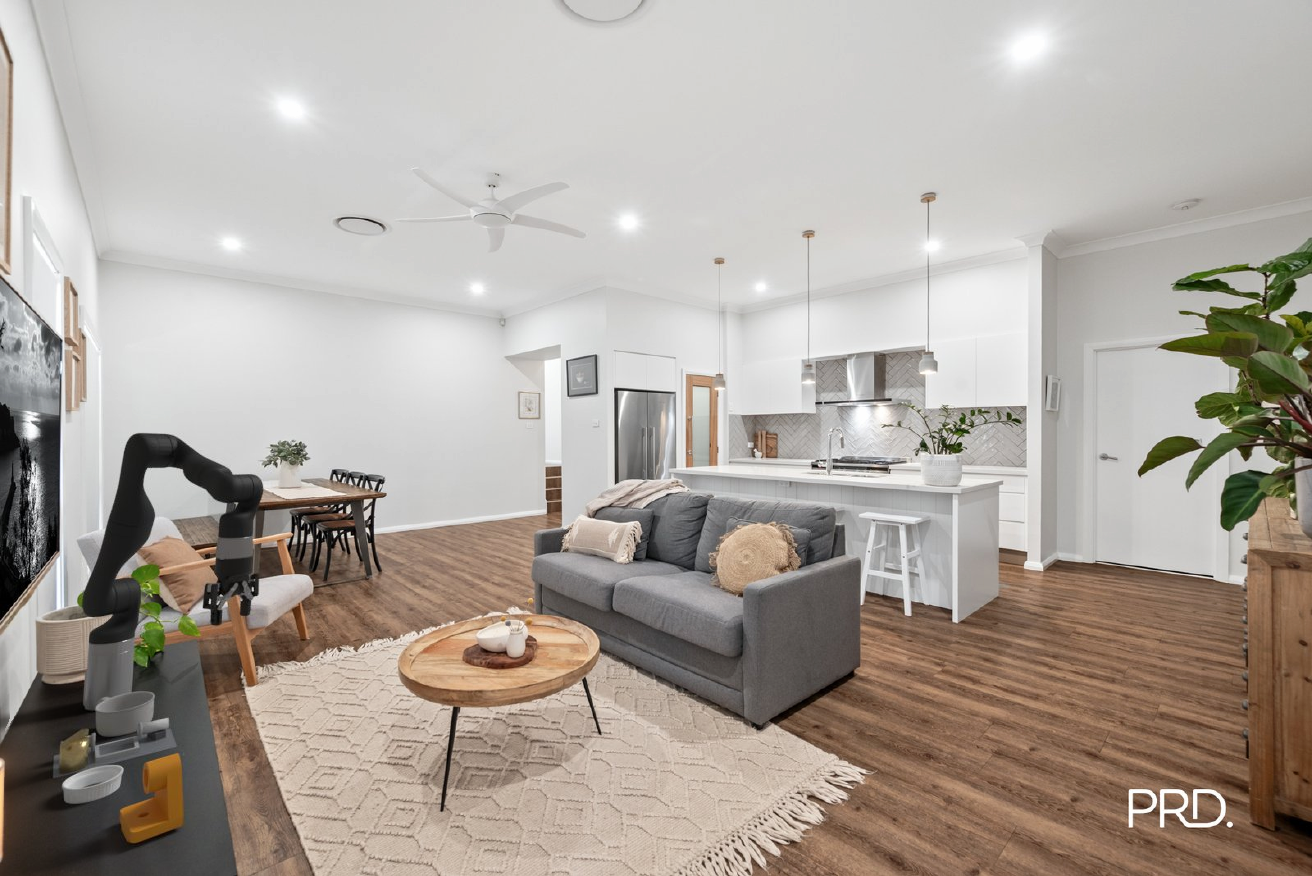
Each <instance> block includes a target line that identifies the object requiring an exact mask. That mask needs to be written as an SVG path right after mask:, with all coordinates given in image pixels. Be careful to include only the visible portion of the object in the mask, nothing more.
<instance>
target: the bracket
mask: <svg viewBox="0 0 1312 876" xmlns="http://www.w3.org/2000/svg"><path fill="white" fill-rule="evenodd" d="M182 769H183V768H182V761H181V755H180V754H179V753H178V752H177V753H173V754H171V755H166V756H163V757H159V758H157V759H153V760H150V761H147V762H144V764H143V767H142V786H143V791H144V793H145V794H146V795H147V794H150V793H154V797H152V798H149V799H146V800H142V801H139V802H136V803H134V804H131V805H127V806H125V807H123V808H121V809H120V810H119V823H120V825H121V827H120V830H121V832H122V833H123V836H124V838H125V839H126V842H127V843H130V844H136V843H139V842H140V843H141V842H142V841H145V840H149V839H151V838H153V837H156V836H158V835H161V834H163V833H166V832H167V833H168V832H169V831H172V830H175V829H177V828H180V827H182V826H184V816H185V814H184V792H183V790H184V789H183V771H182Z"/></svg>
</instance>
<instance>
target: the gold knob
mask: <svg viewBox="0 0 1312 876" xmlns="http://www.w3.org/2000/svg"><path fill="white" fill-rule="evenodd" d="M89 732H90V731H89V728H81V729H80V730H78V731H77V732H75V733H74V734H73V735H71V736H69V737H68V738H66V739H65V740H64V742H62V741H61V742H62V743H61V742H60V744H59V754H60V757H59V773H61V774H67V773H72V772H76V771H79V770H81V769H84V768H85V767H86V766H87V765H88V749H89V737H85V736H89ZM76 773H77V772H76ZM72 774H73V773H72Z"/></svg>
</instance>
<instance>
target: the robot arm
mask: <svg viewBox="0 0 1312 876" xmlns="http://www.w3.org/2000/svg"><path fill="white" fill-rule="evenodd" d="M166 468H175V469H179V470H182V473H183V476H184V477H185V479H187V480H188V481H189V482H190V483H191V484H194V485H195V486H197V487H199V488H201V489H204V490H205V491H206V492H207V493H208V494H209V496H211V497H212V498H213V500H214V501H216V502H220V503H223V504H234V503H235V504H236V503H237V504H236V506H235V508H234V509H233V510H231V511H228V512H225V513H222V514H221V516H220V517H219V522H218V537H217V543H216V548H215V549H216V550H215V565H214V566H215V567H214V575H215V576H217V580H216V582H213V583H212V582H210V583H209V582H207V583H205V585H204V592H203V598H202V599H203V600H202V609H203V610H210V619H209V620H210V621H209V622H210V625H211V626H217V627H218V626H221V625H222V622H223V621H222V620H223V607H224V606H225V603H226V602H228V601H229V600H230V599H231V598H233V597H235V596H238V597H239V598H240V603H239V605H240V606H239V615H240V616H241V617H248V616H250V615H251V610H252V601H253V600H254V598H255V597H258V596H259V594H260V593H259V592H260V574H259V573H258V572H257V573H256V572H252V571H253V559H254V558H253V557H254V556H253V555H254V539H253V537H254V536H253V535H254V520H255V517H256V515H257V512H258V509H259V506H260V503H261V501H262V498H263V494H264V483H263V481H262V479H261V478H260V477H259V476H258V475H256V474H252V473H245V474H244V473H243V474H242V473H241V474H240V473H239V474H234V473H233V471H232V470H231V469H230V468H229V467H227V466H225V465H223V464H221V463H219V462H217V461H215V460H212V459H210V458H208V457H205V456H204V455H202V454H201V453H200V452H198V451H197V450H195V449H194V448H192V447H191V446H190V445H189V444H188V443H186V442H185V441H184V440H182V439H181V438H179V437H178V436H176V435H174V434H169V433H157V432H155V433H154V432H137V433H133V434H132V435H131V436H129V438H128V439H127V441H126V443H125V446H124V450H123V455H122V460H121V466H120V473H119V479H118V483H117V489H116V493H115V497H114V501H113V504H112V507H111V509H110V513H109V517H108V518H107V523H106V526H105V531H104V534H103V539H102V541H101V546H100V550H99V553H98V555H97V559H96V561H95V564H94V567H93V569H92V571H91V574H90V576H89V578H88V581H87V582H86V585H85V588H84V590H83V595H82V601H81V607H82V612H83V613H84V614H85V616H87V617H89V618H101V617H102V618H103V617H107V616H111V617H110V618H108V619H107V620H106V621H105V622H104V623H103V624H101V625H99V626H97V627H95V628H94V629H92V630H91V631H90V632H89V635H88V647H87V648H88V649H87V650H88V652H87V667H86V669H85V670H84V681H83V682H84V685H83V686H84V687H83V701H82V705H83V706H84V709H85V710H87V711H95V707H96V706H97V702H98V701H99V700H100V699H102V698H104V697H108V698H112V697H115V696H118V695H122V694H126V693H131V692H133V691H132V690H133V677H134V676H133V675H134V660H135V659H134V658H135V639H136V637H135V635H136V630H137V628H138V624H139V618H140V611H141V609H140V608H141V604H142V603H141V602H142V590H141V589H142V587H141V584H140V582H139V580H138V579H136V578H134V577H122V578H121V577H120V578H117V576H118V574H119V572H120V570H121V569H122V568H123V567H124V565H125V564H126V563H127V562H128V561H129V560H130V559H131V558H132V557H133V556H134V555H135V554H137V553H138V551H140V549H142V547H144V545H146V543H147V542H148V540H149V538H150V537H151V533H152V530H153V526H154V523H155V519H156V511H155V508H154V506H153V504H152V502H151V500H150V498H149V496H148V495H147V493H146V491H145V487H144V484H145V483H144V482H145V475H146V472H147V471H148V469H166Z"/></svg>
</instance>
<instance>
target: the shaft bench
mask: <svg viewBox="0 0 1312 876" xmlns="http://www.w3.org/2000/svg"><path fill="white" fill-rule="evenodd" d="M169 719H170V718H169V717H164V718H162V719H160V718H159V719H156V720H153V721H152V720H151V722H147V723H143V724H142V722H141V723H138V726H137V731H136V733H137V734H136V735H134V736H131V737H127V738H121V739H118V740H114V741H109V742H105V743H101V744H97V745H96V736H97V735H96V732H93V733H91V734H90V735H89V734H88V735H86V736H85V737H89V749H88V765H87V766H86V767H85V768H84V769H81V770H79V771H76V772H72V773H67V774H61V773H59V757H60V753H59V754H55V755H53V767H52V776H53V777H52V778H53V779H55V778H61V777H64V776H67V775H71V774H75V773H76V774H77V773H80V772H82V771H85V770H88V769H91V768H95V767H100V766H106V765H113V764H115V763H119V762H123V761H126V760H131V759H134V758H139V757H144V756H147V755H152V754H154V753H159V752H161V751H166V750H171V749H174V748H177V747H178V745H177V743H176V740H175V738H174V734H173V732H172V728H169V727H170V720H169ZM64 741H65V740H64ZM64 741H63V740H61V741H60V744H61V743H62V742H64Z"/></svg>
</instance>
